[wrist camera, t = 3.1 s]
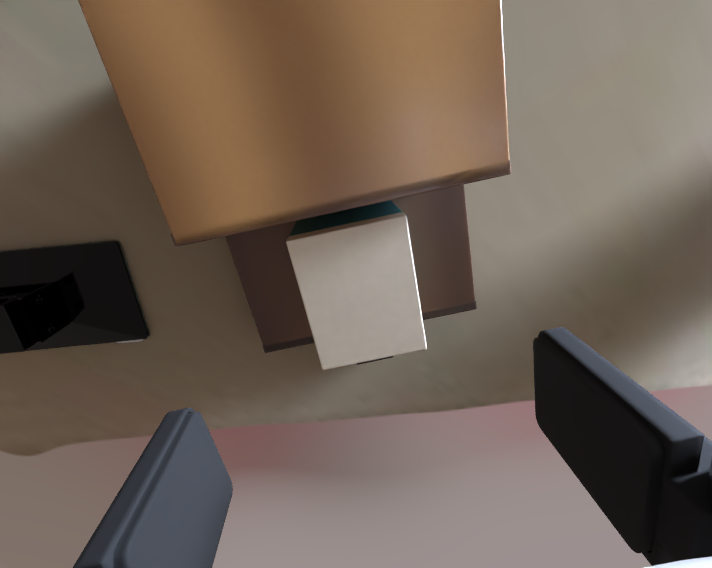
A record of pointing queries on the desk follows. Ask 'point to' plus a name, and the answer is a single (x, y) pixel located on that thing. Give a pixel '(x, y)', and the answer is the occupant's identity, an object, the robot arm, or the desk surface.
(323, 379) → the desk surface
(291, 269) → the shelf
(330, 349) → the box
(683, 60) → the desk surface
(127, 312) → the black stand
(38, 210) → the desk surface
